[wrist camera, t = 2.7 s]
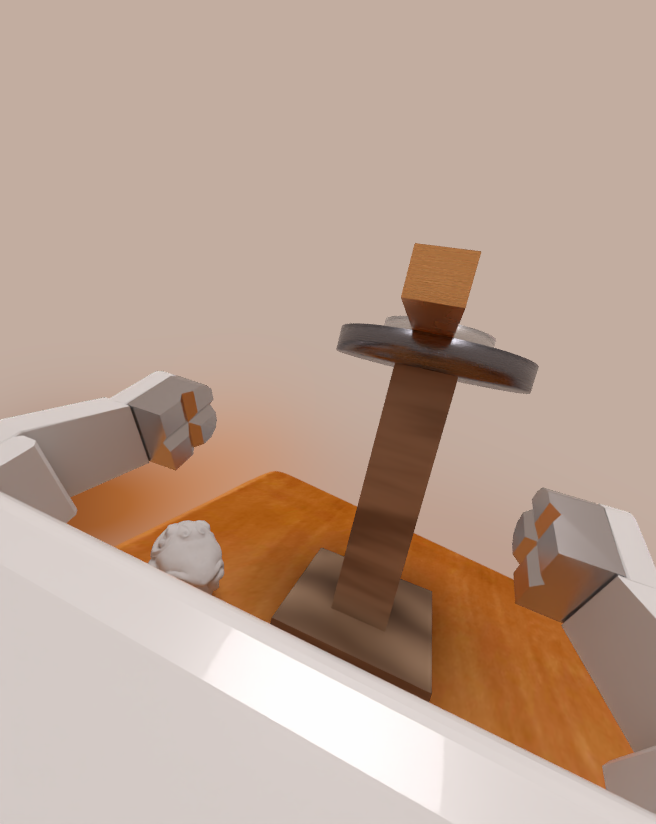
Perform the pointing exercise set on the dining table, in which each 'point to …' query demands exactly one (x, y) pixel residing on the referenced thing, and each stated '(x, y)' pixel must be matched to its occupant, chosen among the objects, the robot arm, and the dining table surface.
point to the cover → (439, 293)
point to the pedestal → (393, 508)
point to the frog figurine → (189, 555)
